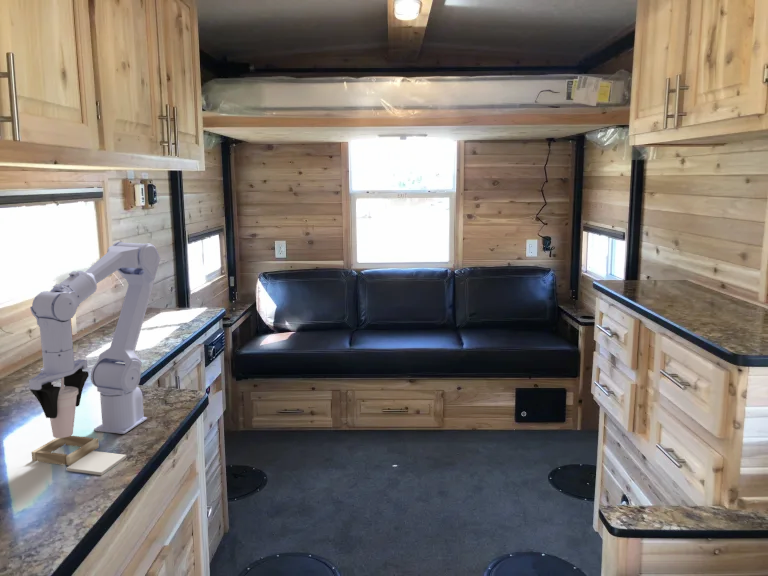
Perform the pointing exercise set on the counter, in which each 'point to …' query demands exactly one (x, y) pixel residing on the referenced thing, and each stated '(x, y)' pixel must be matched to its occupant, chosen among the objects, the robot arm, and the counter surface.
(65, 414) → the smoothie
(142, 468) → the counter surface
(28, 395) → the counter surface
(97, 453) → the coaster pad
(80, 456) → the collar
